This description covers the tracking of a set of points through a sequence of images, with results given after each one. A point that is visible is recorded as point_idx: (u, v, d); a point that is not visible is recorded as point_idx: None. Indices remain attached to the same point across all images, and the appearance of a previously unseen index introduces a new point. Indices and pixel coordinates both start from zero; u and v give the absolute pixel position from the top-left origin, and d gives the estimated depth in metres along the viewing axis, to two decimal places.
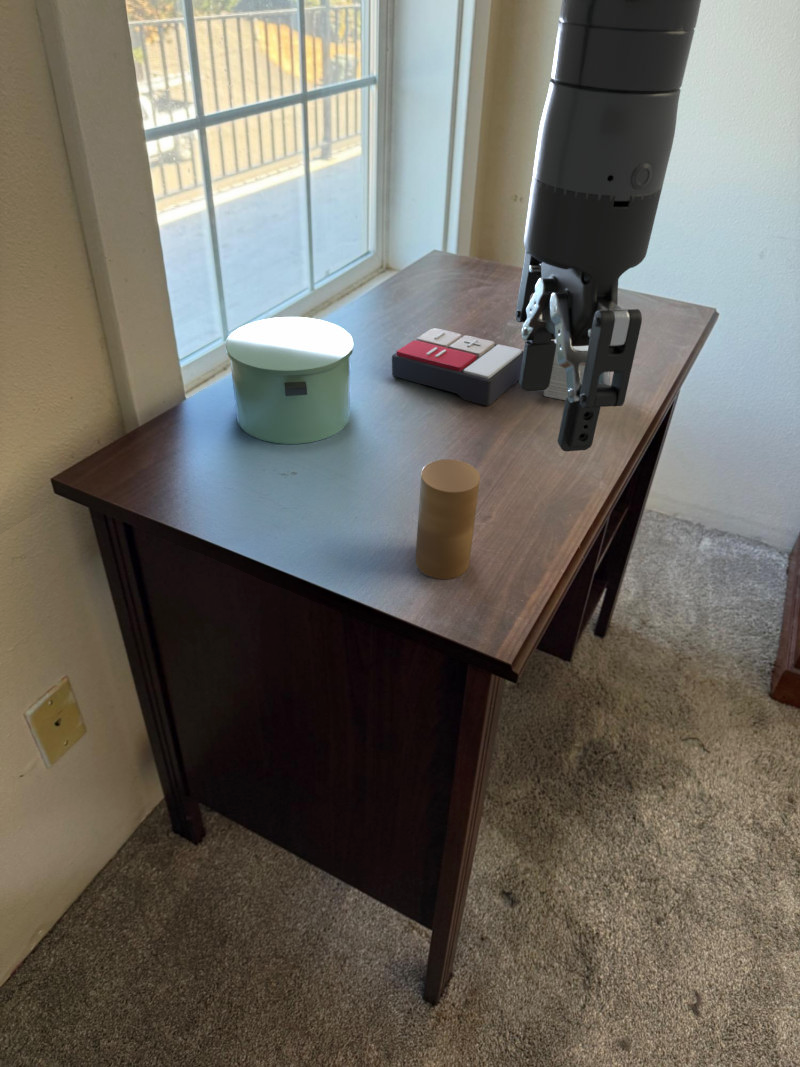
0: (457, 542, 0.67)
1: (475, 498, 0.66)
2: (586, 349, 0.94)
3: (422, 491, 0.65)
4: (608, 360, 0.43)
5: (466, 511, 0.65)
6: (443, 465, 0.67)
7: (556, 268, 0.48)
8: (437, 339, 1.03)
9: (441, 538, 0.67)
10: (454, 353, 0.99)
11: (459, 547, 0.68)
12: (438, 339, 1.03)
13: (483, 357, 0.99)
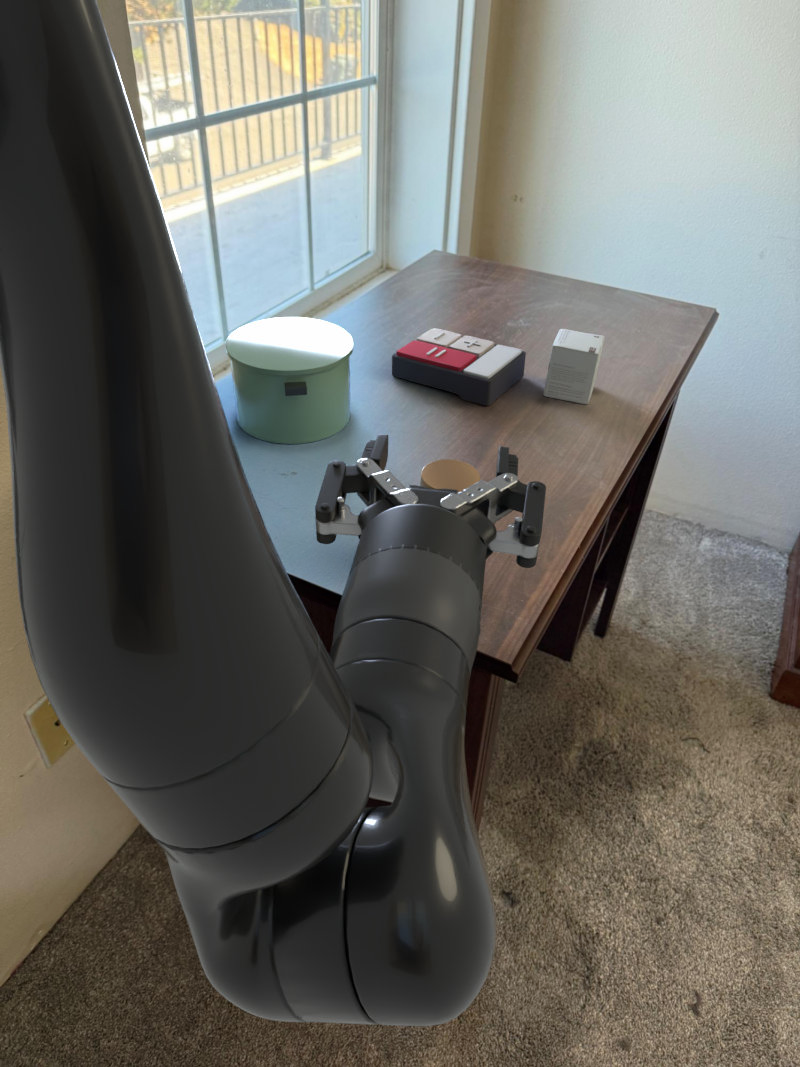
0: None
1: None
2: (586, 349, 0.94)
3: None
4: None
5: None
6: (443, 465, 0.67)
7: None
8: (437, 339, 1.03)
9: None
10: (454, 353, 0.99)
11: None
12: (438, 339, 1.03)
13: (483, 357, 0.99)
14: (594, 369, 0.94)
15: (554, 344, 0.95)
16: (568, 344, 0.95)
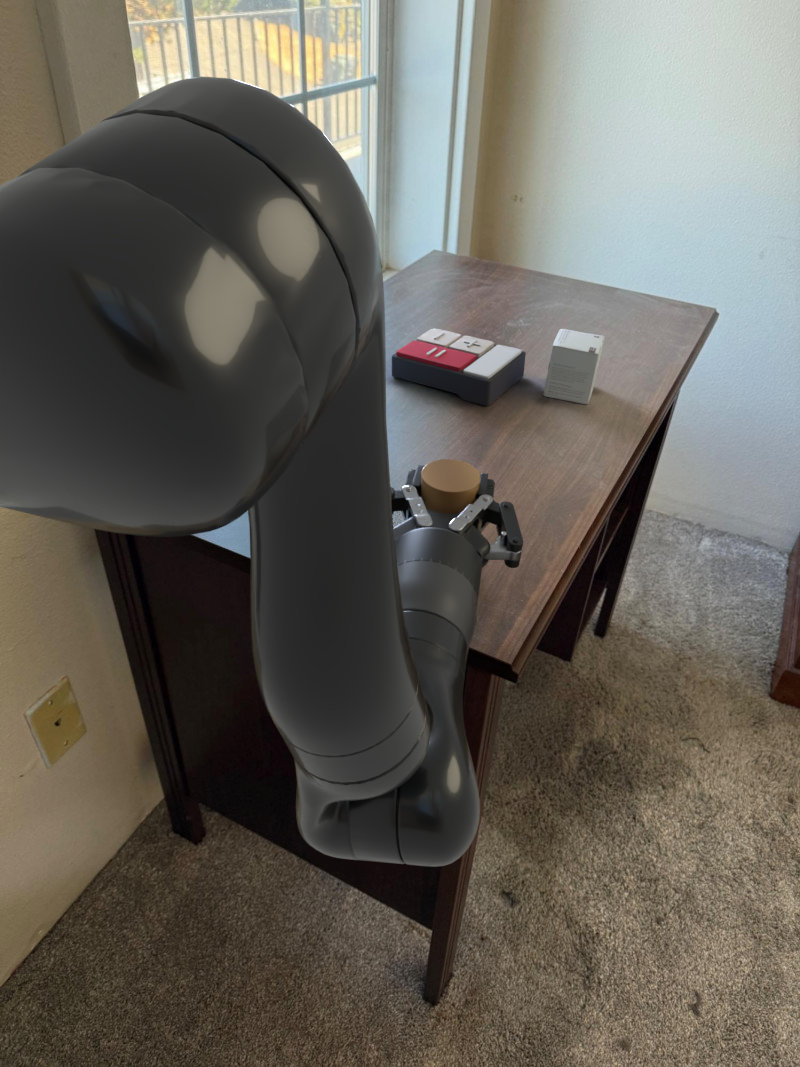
0: None
1: (475, 498, 0.66)
2: (586, 349, 0.94)
3: (422, 491, 0.65)
4: None
5: None
6: (443, 465, 0.67)
7: None
8: (437, 339, 1.03)
9: None
10: (454, 353, 0.99)
11: None
12: (438, 339, 1.03)
13: (483, 357, 0.99)
14: (594, 369, 0.94)
15: (554, 344, 0.95)
16: (568, 344, 0.95)
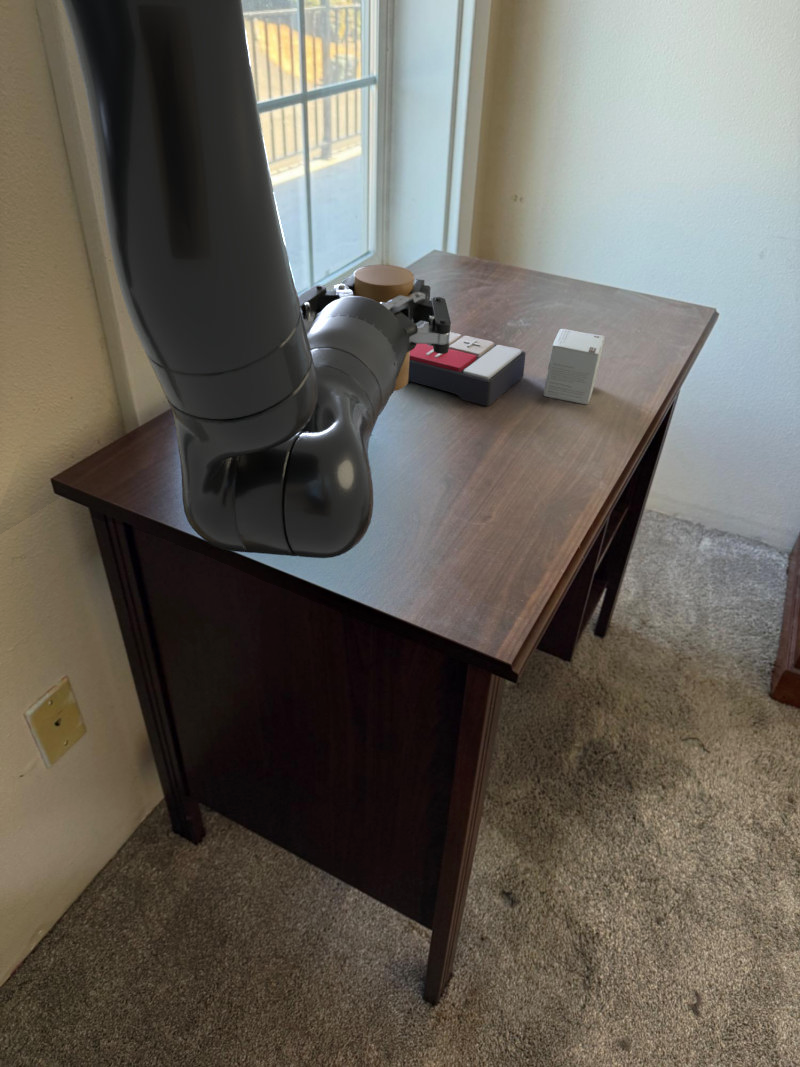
0: None
1: None
2: (586, 349, 0.94)
3: (355, 290, 0.65)
4: None
5: None
6: (377, 268, 0.66)
7: None
8: None
9: None
10: (454, 354, 0.99)
11: None
12: None
13: (483, 357, 0.99)
14: (594, 369, 0.94)
15: (554, 344, 0.95)
16: (568, 344, 0.95)
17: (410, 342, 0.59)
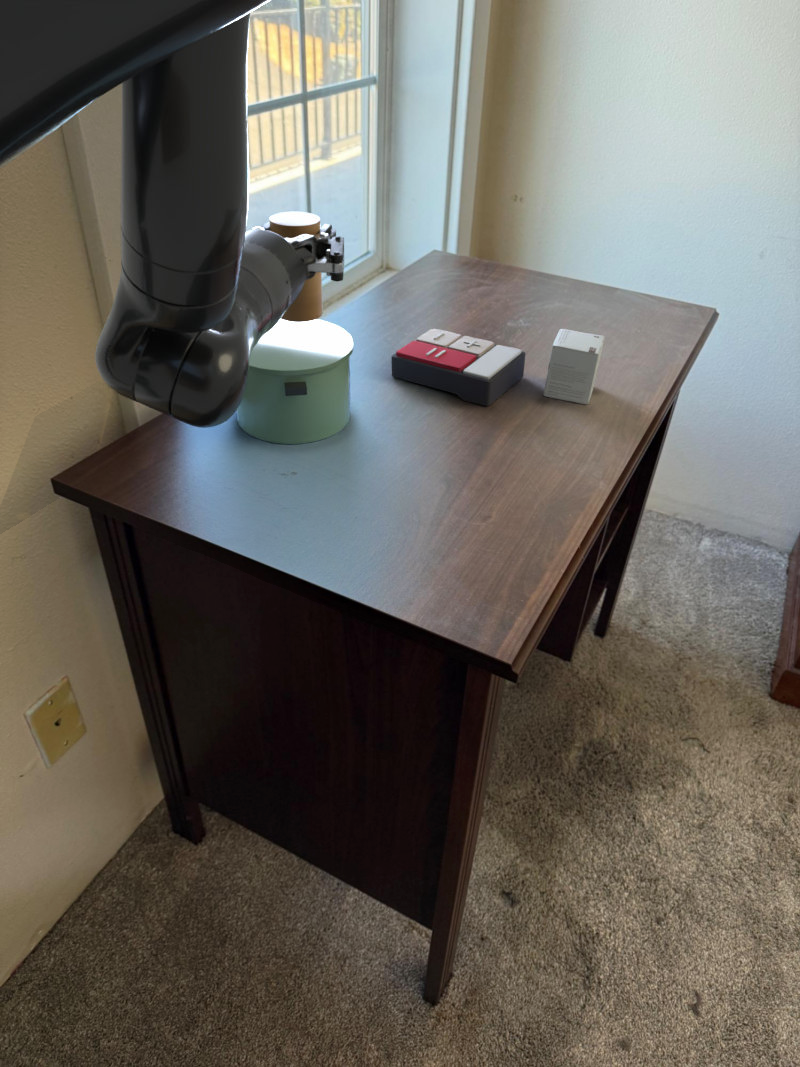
0: None
1: None
2: (586, 349, 0.94)
3: None
4: None
5: None
6: (290, 213, 0.78)
7: None
8: (436, 339, 1.03)
9: None
10: (454, 354, 0.99)
11: (306, 288, 0.78)
12: (437, 339, 1.03)
13: (483, 357, 0.99)
14: (594, 369, 0.94)
15: (554, 344, 0.95)
16: (568, 344, 0.95)
17: (309, 271, 0.71)
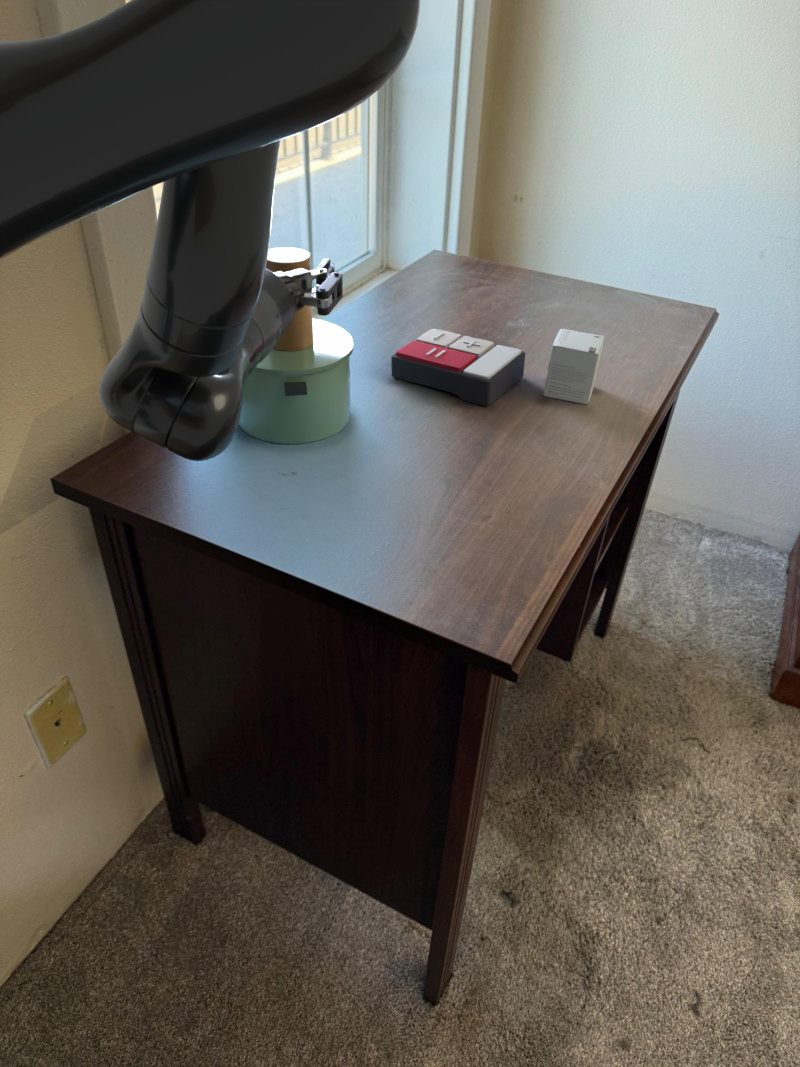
0: (295, 313, 0.82)
1: None
2: (586, 349, 0.94)
3: None
4: None
5: (298, 283, 0.80)
6: (282, 249, 0.82)
7: None
8: (436, 339, 1.03)
9: None
10: (454, 354, 0.99)
11: (297, 320, 0.83)
12: (437, 339, 1.03)
13: (483, 357, 0.99)
14: (594, 369, 0.94)
15: (554, 344, 0.95)
16: (568, 344, 0.95)
17: None
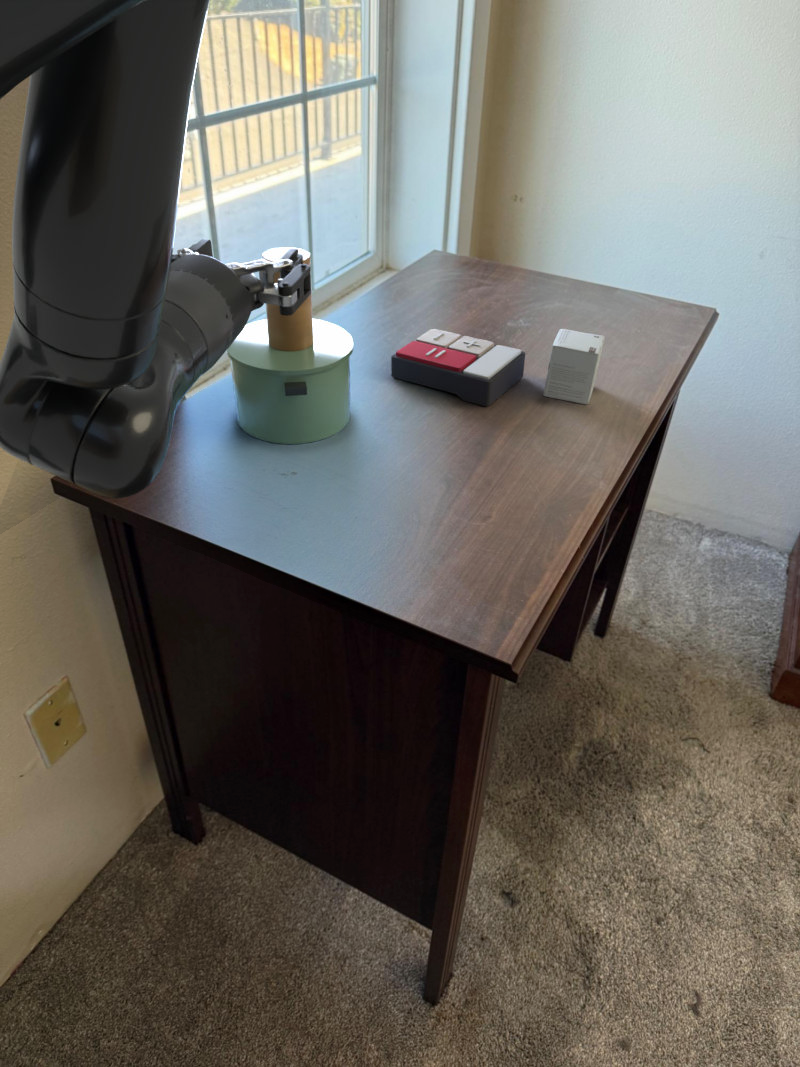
0: (295, 313, 0.82)
1: None
2: (586, 349, 0.94)
3: None
4: None
5: None
6: (282, 249, 0.82)
7: None
8: (436, 340, 1.03)
9: None
10: (453, 354, 0.99)
11: (297, 320, 0.83)
12: (437, 340, 1.03)
13: (483, 358, 0.98)
14: (594, 369, 0.94)
15: (554, 344, 0.95)
16: (568, 344, 0.95)
17: None
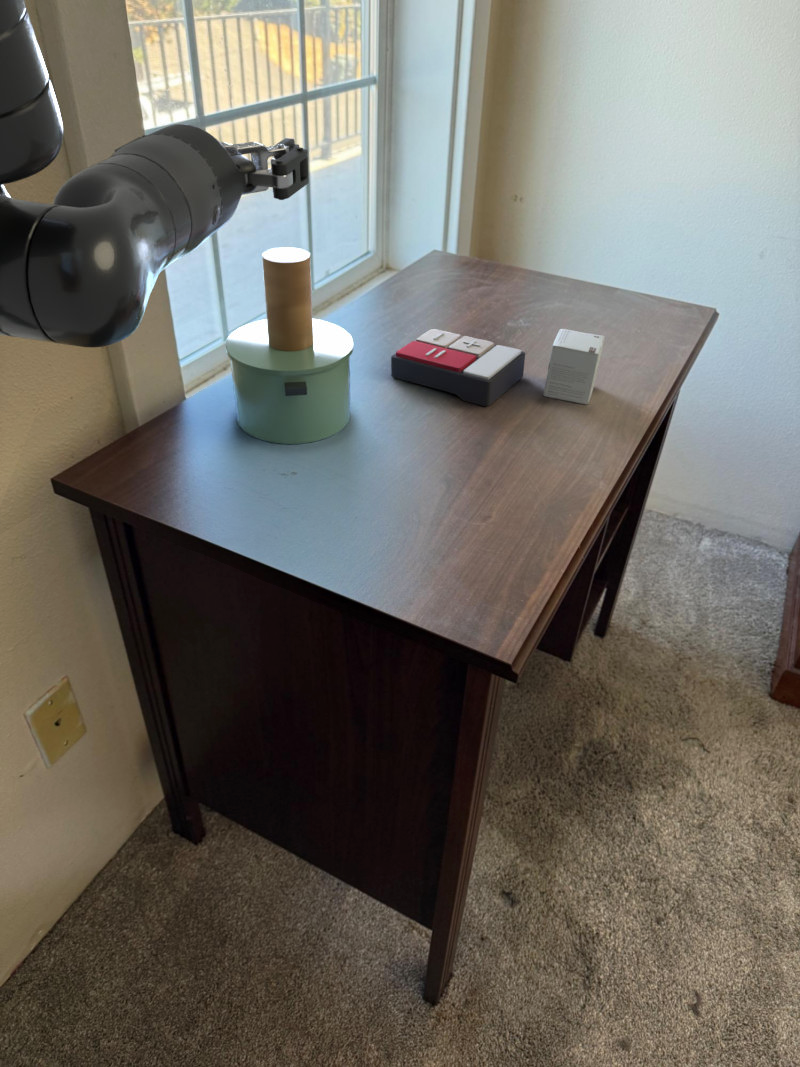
0: (295, 313, 0.82)
1: (306, 273, 0.81)
2: (586, 349, 0.94)
3: (263, 268, 0.81)
4: None
5: (298, 283, 0.80)
6: (282, 249, 0.82)
7: None
8: (436, 340, 1.03)
9: (281, 309, 0.82)
10: (453, 354, 0.99)
11: (297, 320, 0.83)
12: (437, 340, 1.03)
13: (482, 358, 0.98)
14: (594, 369, 0.94)
15: (554, 344, 0.95)
16: (568, 344, 0.95)
17: (249, 183, 0.57)
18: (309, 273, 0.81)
